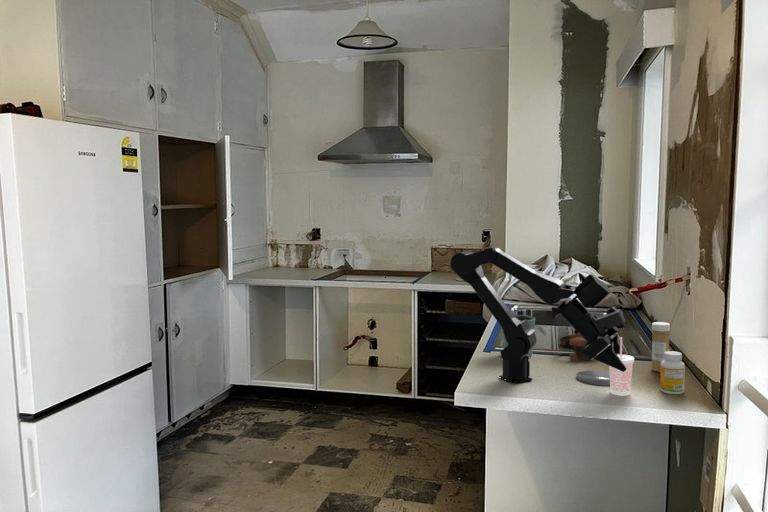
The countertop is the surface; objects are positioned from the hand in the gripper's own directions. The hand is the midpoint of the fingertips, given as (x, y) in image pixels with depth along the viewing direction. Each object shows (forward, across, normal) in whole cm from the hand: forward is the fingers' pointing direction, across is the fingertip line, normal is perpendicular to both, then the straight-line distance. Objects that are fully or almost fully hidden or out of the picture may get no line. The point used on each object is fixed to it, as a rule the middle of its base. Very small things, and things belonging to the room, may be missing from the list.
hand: (626, 367), depth 147 cm
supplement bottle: (+12, +7, -2) cm, 14 cm away
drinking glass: (-19, +25, +29) cm, 43 cm away
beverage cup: (+4, 0, +6) cm, 7 cm away
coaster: (-1, +10, +10) cm, 14 cm away
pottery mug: (-7, +30, +17) cm, 35 cm away
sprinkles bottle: (+9, +25, +1) cm, 26 cm away
